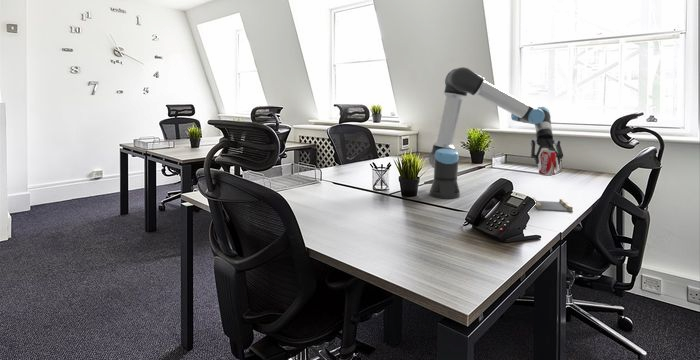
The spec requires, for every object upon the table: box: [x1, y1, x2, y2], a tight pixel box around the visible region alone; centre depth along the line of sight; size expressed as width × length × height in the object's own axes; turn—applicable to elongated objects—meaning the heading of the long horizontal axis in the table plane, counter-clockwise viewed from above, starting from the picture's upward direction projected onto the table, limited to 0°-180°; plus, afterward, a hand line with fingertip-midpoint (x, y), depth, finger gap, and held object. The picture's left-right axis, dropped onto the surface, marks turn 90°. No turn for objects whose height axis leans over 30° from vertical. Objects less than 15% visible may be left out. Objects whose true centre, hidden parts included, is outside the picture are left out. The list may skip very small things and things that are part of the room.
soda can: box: [538, 149, 556, 177], centre depth 205 cm, size 7×7×12 cm
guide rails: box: [532, 197, 573, 211], centre depth 195 cm, size 16×14×2 cm
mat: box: [534, 200, 573, 213], centre depth 195 cm, size 16×14×1 cm
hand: (548, 169), depth 202 cm, fingers closed on soda can, 7 cm apart
